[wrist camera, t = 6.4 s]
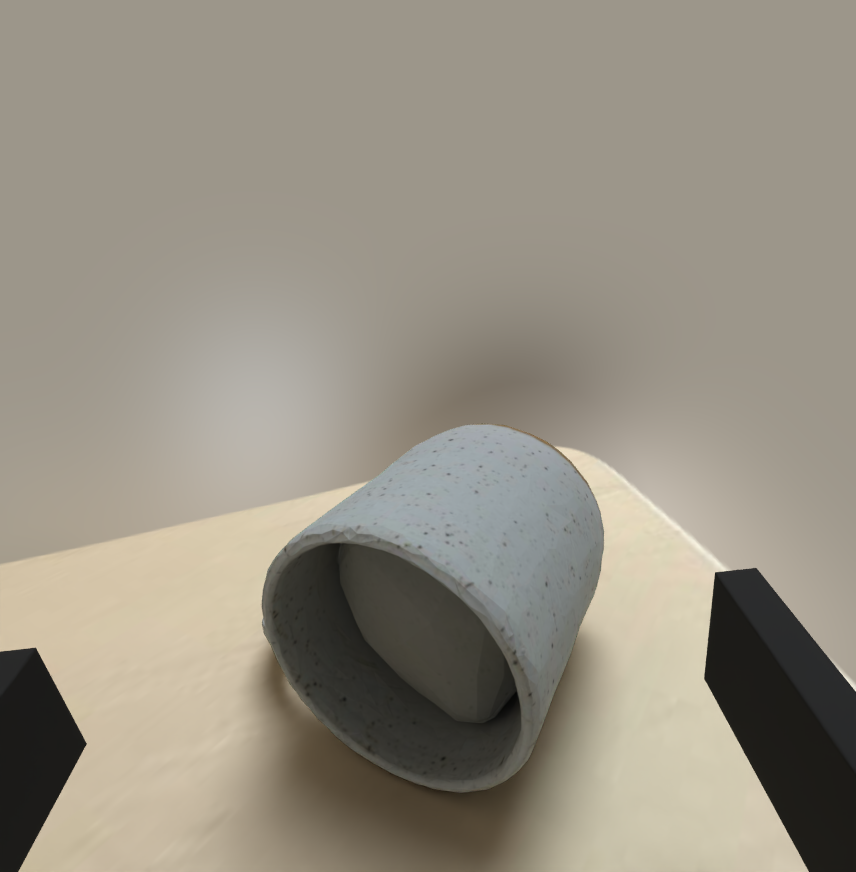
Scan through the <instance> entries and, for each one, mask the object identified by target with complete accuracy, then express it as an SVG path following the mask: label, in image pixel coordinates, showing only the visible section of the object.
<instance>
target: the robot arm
mask: <svg viewBox="0 0 856 872" xmlns="http://www.w3.org/2000/svg"><path fill="white" fill-rule="evenodd" d="M704 679H705V681H706V683H707V684H708V686H709V688H710V690H711V692H712V694H713V696H714V697H715V699H716V701H717V703H718V705H719V707H720V708H721V710H722V712H723V714H724V716H725V718H726V720H727V721H728V723H729V725H730V727H731V729H732V731H733V732H734V734H735V736H736V738H737V740H738V742H739V743H740V745H741V747H742V749H743V751H744V753H745V755H746V756H747V758H748V760H749V762H750V764H751V766H752V767H753V769H754V771H755V773H756V775H757V777H758V779H759V780H760V782H761V784H762V786H763V788H764V790H765V791H766V793H767V795H768V797H769V799H770V801H771V802H772V804H773V806H774V808H775V810H776V812H777V814H778V815H779V817H780V819H781V821H782V823H783V825H784V826H785V828H786V830H787V832H788V834H789V836H790V838H791V839H792V841H793V843H794V845H795V847H796V849H797V850H798V852H799V854H800V856H801V858H802V860H803V862H804V863H805V865H806V867H807V869H808V871H809V872H856V692H855V690H854V689H853V688H852V687H851V685H850V684H849V683H848V682H847V680H846V679H845V678H844V677H843V675H842V674H841V673H840V672H839V670H838V669H837V668H836V667H835V665H834V664H833V663H832V662H831V660H830V659H829V658H828V657H827V655H826V654H825V653H824V652H823V651H822V649H821V648H820V647H819V646H818V644H817V643H816V642H815V641H814V640H813V638H812V637H811V636H810V634H809V633H808V632H807V631H806V629H805V628H804V627H803V626H802V624H801V623H800V622H799V621H798V619H797V618H796V617H795V616H794V614H793V613H792V612H791V611H790V609H789V608H788V607H787V606H786V604H785V603H784V602H783V601H782V599H781V598H780V597H779V596H778V594H777V593H776V592H775V591H774V590H773V588H772V587H771V586H770V584H769V583H768V582H767V581H766V580H765V578H764V577H763V576H762V575H761V573H760V572H759V571H758V570H757V568H752V569H743V570H734V571H725V572H716V573H715V579H714V589H713V599H712V608H711V618H710V628H709V638H708V647H707V657H706V667H705V677H704ZM86 744H87V743H86V742H85V740H84V738H83V736H82V734H81V732H80V730H79V728H78V726H77V725H76V723H75V721H74V719H73V717H72V715H71V713H70V711H69V709H68V708H67V706H66V704H65V702H64V700H63V698H62V696H61V694H60V693H59V691H58V689H57V687H56V685H55V683H54V681H53V679H52V677H51V676H50V674H49V672H48V670H47V668H46V666H45V664H44V662H43V660H42V659H41V657H40V655H39V653H38V651H37V649H36V648H30V649H21V650H12V651H3V652H0V872H18V871H19V869H20V867H21V865H22V864H23V862H24V860H25V858H26V856H27V854H28V852H29V851H30V849H31V847H32V845H33V843H34V841H35V839H36V837H37V836H38V834H39V832H40V830H41V828H42V826H43V824H44V823H45V821H46V819H47V817H48V815H49V813H50V811H51V810H52V808H53V806H54V804H55V802H56V800H57V798H58V796H59V795H60V793H61V791H62V789H63V787H64V785H65V783H66V782H67V780H68V778H69V776H70V774H71V772H72V770H73V768H74V767H75V765H76V763H77V761H78V759H79V757H80V755H81V754H82V752H83V750H84V748H85V746H86Z"/></svg>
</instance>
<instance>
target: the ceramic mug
mask: <svg viewBox="0 0 856 872" xmlns="http://www.w3.org/2000/svg"><path fill="white" fill-rule="evenodd" d="M603 550H604V529H603V524H602V519H601V513H600V510H599V507H598V504H597V501H596V499H595V497H594V495H593V493H592V491H591V489H590V487H589V485H588V483H587V481H586V480H585V479H584V478H583V476H582V475H581V474H580V472H579V471H578V470H577V469H576V467H575V466H574V465H573V464H572V462H571V461H570V460H569V459H568V458H566V457H565V456H564V455H563V454H562V453H561V452H560V451H559V450H558V449H556V448H555V447H553V446H552V445H551V444H549V443H548V442H546V441H544V440H542V439H540V438H538V437H536V436H534V435H532V434H530V433H527V432H523V431H521V430H518V429H515V428H512V427H509V426H506V425H496V424H472V425H466V426H462V427H458V428H454V429H451V430H448V431H445V432H443V433H440V434H438V435H436V436H434V437H432V438H430V439H428V440H426V441H424V442H422V443H421V444H418V445H417V446H415V447H413V448H412V449H411V450H410V451H408V452H407V453H406V454H404V455H403V456H402V457H401V458H399V459H398V460H397V461H395V462H394V463H393V464H391V465H390V466H389V467H388V468H387V469H386V470H384V471H383V472H382V473H381V474H380V475H379V476H377V477H376V478H374V479H373V480H371V481H370V482H369V483H367V484H366V485H364V486H363V487H362V488H360V489H359V490H357V491H356V492H355V493H353V494H352V495H350V496H349V497H348V498H346V499H345V500H343V501H342V502H341V503H339V504H338V505H337V506H335V507H334V508H333V509H331V510H330V511H328V512H327V513H326V514H324V515H323V516H322V517H320V518H319V519H318V520H316V521H315V522H314V523H312V524H311V525H310V526H308V527H307V528H306V529H304V530H303V531H302V532H300V533H299V534H298V535H296V536H295V537H294V538H293V539H292V540H291V541H290V542H289V543H288V544H287V545H286V546H285V547H284V548H283V549H282V550H281V551H280V552H279V553H278V555H277V556H276V557H275V559H274V560H273V562H272V564H271V565H270V567H269V569H268V571H267V576H266V580H265V584H264V588H263V595H262V612H263V620H262V626H263V630H264V634H265V636H266V638H267V640H268V641H269V643H270V645H271V647H272V649H273V651H274V654H275V656H276V658H277V660H278V663H279V665H280V667H281V668H282V670H283V672H284V673H285V675H286V677H287V679H288V681H289V683H290V685H291V686H292V687H293V689H294V690H295V691H296V692H297V694H298V695H299V697H300V698H301V700H302V701H303V702H304V703H305V704H306V705H307V706H308V707H309V708H310V709H311V711H312V712H313V713H314V714H315V716H316V717H317V718H318V720H319V721H321V722H322V723H323V724H324V725H325V726H326V727H327V728H328V729H329V730H330V731H331V732H332V733H333V734H334V735H335V736H336V737H337V738H338V739H339V740H341V741H342V742H343V743H344V744H346V745H347V746H348V747H349V748H351V749H352V750H354V751H355V752H357V753H358V754H360V755H361V756H363V757H364V758H366V759H367V760H369V761H370V762H372V763H374V764H376V765H377V766H379V767H381V768H383V769H385V770H387V771H388V772H390V773H392V774H394V775H396V776H398V777H401V778H403V779H406V780H408V781H411V782H413V783H415V784H418V785H424V786H427V787H429V788H431V789H437V790H444V791H452V792H459V793H464V792H472V791H479V790H487V789H490V788H492V787H494V786H496V785H498V784H501V783H503V782H505V781H506V780H508V779H509V778H510V777H512V776H513V775H514V774H516V773H517V772H518V771H519V770H520V768H521V767H522V766H523V765H524V764H525V763H526V762H527V760H528V759H529V757H530V755H531V752H532V750H533V748H534V746H535V743H536V741H537V738H538V736H539V733H540V730H541V728H542V725H543V723H544V720H545V717H546V715H547V712H548V709H549V707H550V704H551V701H552V698H553V696H554V693H555V691H556V688H557V686H558V683H559V681H560V679H561V676H562V674H563V671H564V669H565V667H566V664H567V662H568V660H569V657H570V654H571V651H572V648H573V645H574V642H575V639H576V637H577V634H578V631H579V628H580V625H581V623H582V620H583V618H584V616H585V614H586V611H587V609H588V607H589V605H590V603H591V600H592V598H593V596H594V593H595V590H596V587H597V583H598V579H599V575H600V571H601V561H602V554H603Z"/></svg>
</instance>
